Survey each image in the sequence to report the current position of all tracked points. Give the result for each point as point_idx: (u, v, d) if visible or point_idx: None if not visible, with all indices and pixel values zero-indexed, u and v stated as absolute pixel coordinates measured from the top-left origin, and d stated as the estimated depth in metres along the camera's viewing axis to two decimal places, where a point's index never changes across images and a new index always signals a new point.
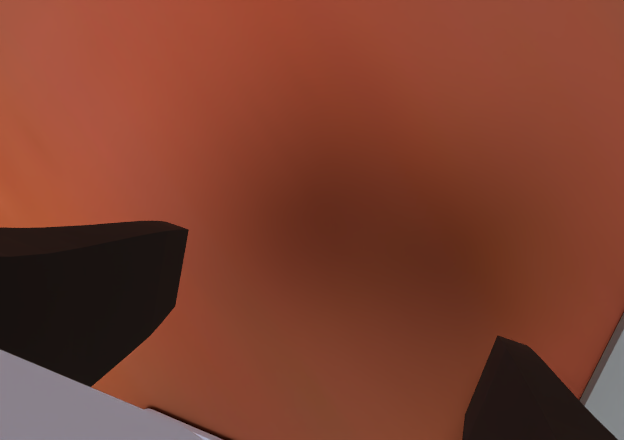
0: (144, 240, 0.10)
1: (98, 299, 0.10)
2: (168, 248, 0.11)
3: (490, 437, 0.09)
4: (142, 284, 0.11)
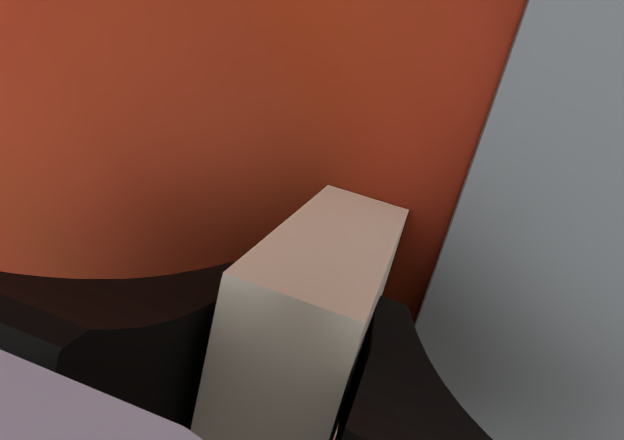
0: None
1: None
2: None
3: (352, 385, 0.10)
4: None
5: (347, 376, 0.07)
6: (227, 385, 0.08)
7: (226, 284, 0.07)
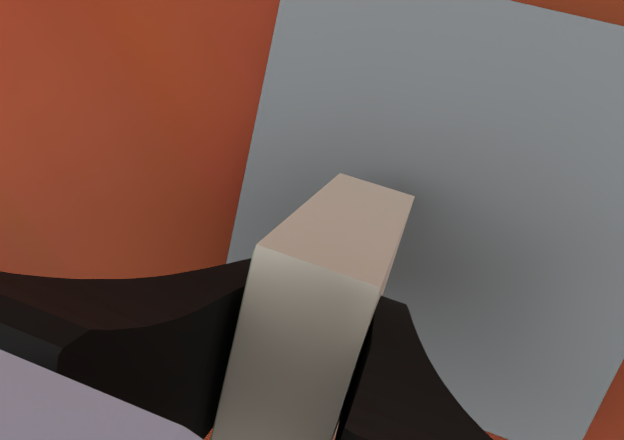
0: None
1: (223, 347, 0.09)
2: None
3: (352, 385, 0.10)
4: None
5: (364, 335, 0.08)
6: (257, 344, 0.09)
7: (259, 255, 0.08)
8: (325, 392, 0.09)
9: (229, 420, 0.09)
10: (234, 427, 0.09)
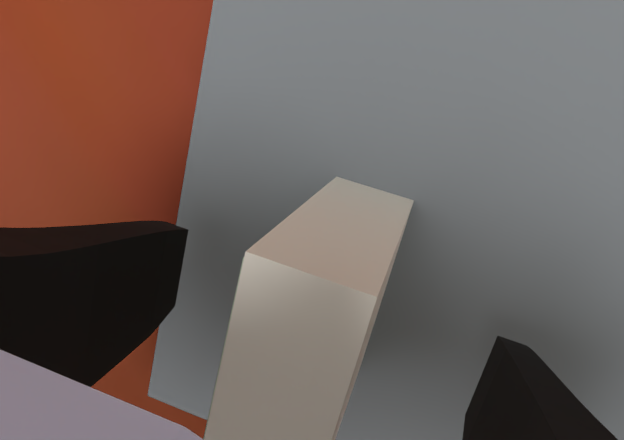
0: (144, 240, 0.10)
1: (98, 299, 0.10)
2: (168, 248, 0.11)
3: (489, 437, 0.09)
4: (142, 284, 0.11)
5: (360, 347, 0.08)
6: (248, 357, 0.08)
7: (248, 262, 0.08)
8: (319, 408, 0.08)
9: (218, 437, 0.09)
10: None
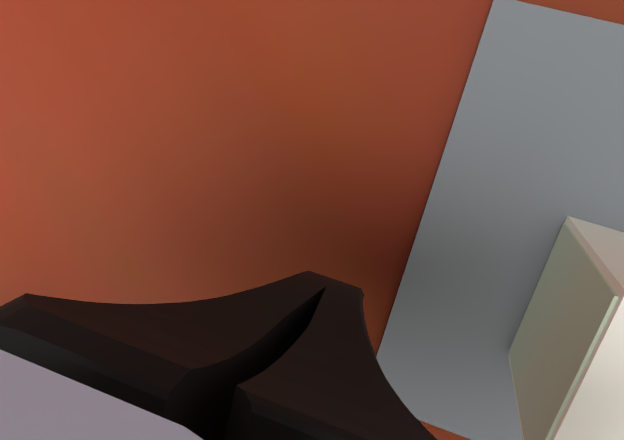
0: (312, 299, 0.10)
1: None
2: None
3: None
4: None
5: None
6: (611, 370, 0.11)
7: None
8: None
9: (571, 430, 0.11)
10: (574, 436, 0.11)
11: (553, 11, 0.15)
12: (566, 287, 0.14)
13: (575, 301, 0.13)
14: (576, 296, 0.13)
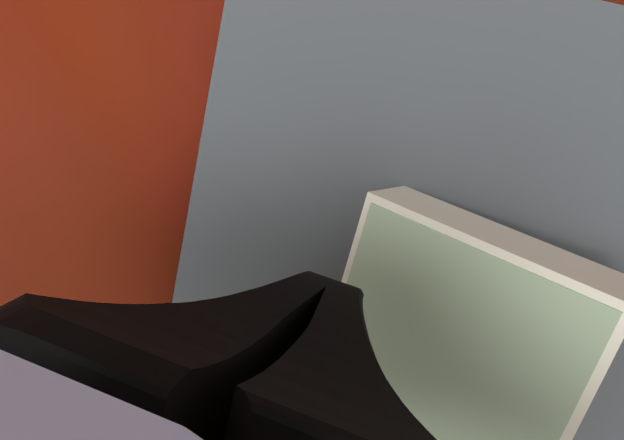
0: (312, 299, 0.10)
1: None
2: None
3: None
4: None
5: None
6: None
7: None
8: None
9: None
10: None
11: None
12: (458, 292, 0.12)
13: (504, 312, 0.11)
14: (503, 306, 0.11)
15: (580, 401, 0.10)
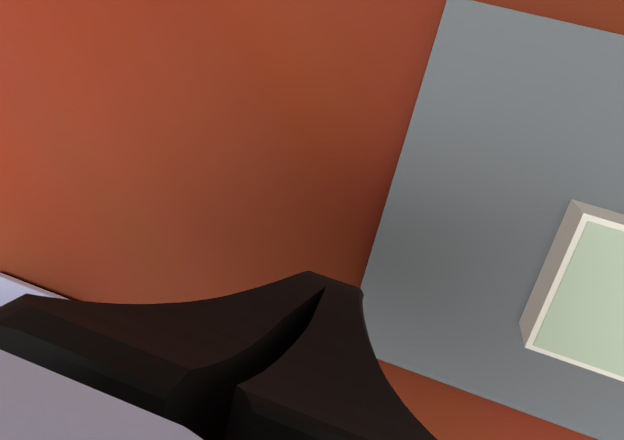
0: (312, 299, 0.10)
1: None
2: None
3: None
4: None
5: None
6: None
7: None
8: None
9: None
10: None
11: (496, 8, 0.18)
12: None
13: None
14: None
15: None
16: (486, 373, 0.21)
